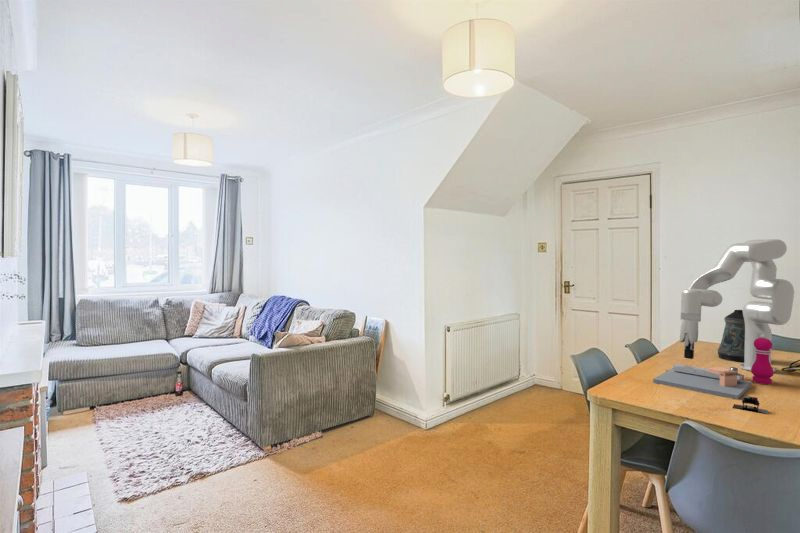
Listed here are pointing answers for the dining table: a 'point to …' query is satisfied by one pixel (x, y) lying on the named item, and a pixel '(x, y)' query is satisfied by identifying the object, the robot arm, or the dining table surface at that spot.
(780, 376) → the dining table surface
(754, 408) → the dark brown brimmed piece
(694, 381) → the slate board
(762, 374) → the pepper mill
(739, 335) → the beer stein
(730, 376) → the block
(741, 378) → the steel link
